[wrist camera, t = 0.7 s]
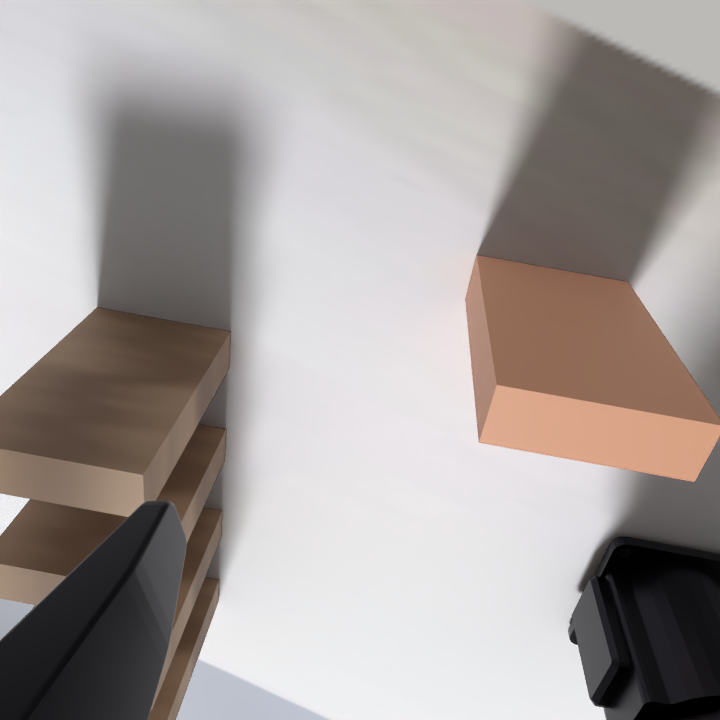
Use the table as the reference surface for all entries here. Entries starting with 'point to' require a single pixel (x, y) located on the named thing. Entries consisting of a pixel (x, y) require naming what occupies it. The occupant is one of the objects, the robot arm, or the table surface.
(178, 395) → the domino
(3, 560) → the domino
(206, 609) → the domino
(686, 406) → the domino
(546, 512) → the table surface
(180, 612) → the domino
